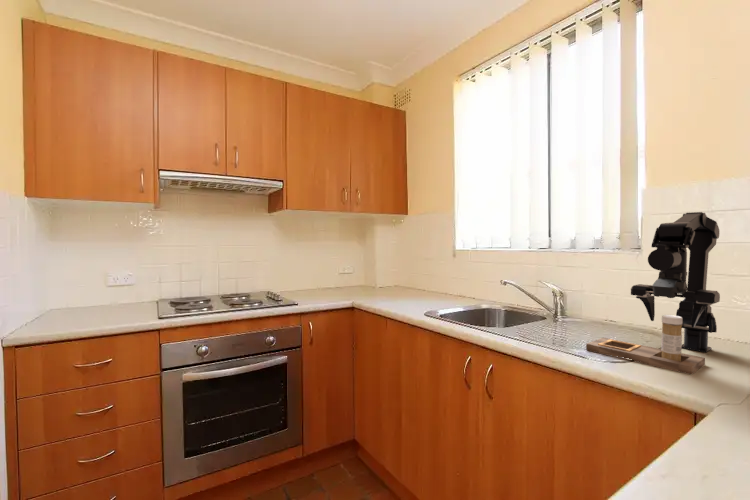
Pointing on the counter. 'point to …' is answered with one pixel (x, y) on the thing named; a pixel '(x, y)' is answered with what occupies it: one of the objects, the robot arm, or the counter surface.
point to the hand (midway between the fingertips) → (672, 323)
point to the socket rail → (645, 355)
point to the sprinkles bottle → (671, 337)
